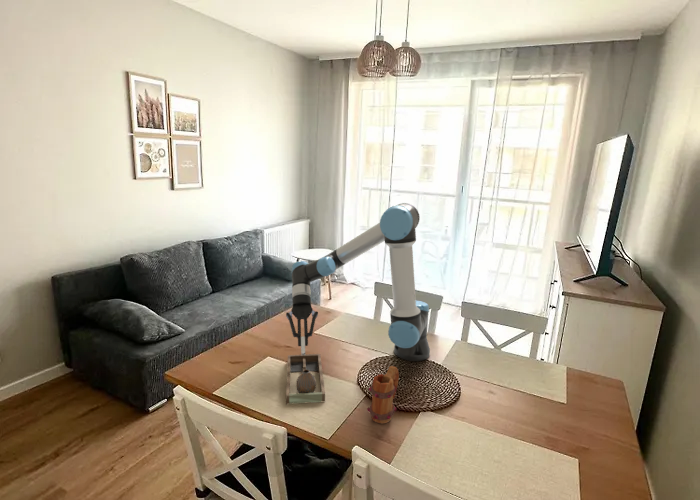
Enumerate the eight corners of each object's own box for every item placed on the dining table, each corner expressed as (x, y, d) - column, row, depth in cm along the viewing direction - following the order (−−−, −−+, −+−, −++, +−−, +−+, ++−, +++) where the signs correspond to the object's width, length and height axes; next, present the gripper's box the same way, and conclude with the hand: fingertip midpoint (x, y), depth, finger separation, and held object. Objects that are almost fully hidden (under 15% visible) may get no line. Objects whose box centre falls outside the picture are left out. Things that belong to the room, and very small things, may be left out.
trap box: (287, 362, 160) (287, 355, 159) (320, 360, 162) (320, 353, 161) (286, 403, 133) (286, 395, 132) (325, 401, 135) (325, 393, 134)
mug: (385, 431, 121) (388, 387, 117) (362, 421, 125) (364, 378, 122) (405, 407, 133) (408, 366, 130) (384, 399, 137) (386, 359, 134)
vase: (313, 400, 135) (313, 377, 133) (293, 398, 136) (293, 375, 134) (318, 389, 142) (318, 367, 140) (299, 387, 143) (299, 365, 141)
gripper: (317, 300, 166) (320, 356, 154) (285, 301, 164) (286, 358, 152) (317, 292, 160) (321, 350, 148) (285, 293, 158) (285, 352, 146)
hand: (303, 354), depth 150 cm, fingers closed
